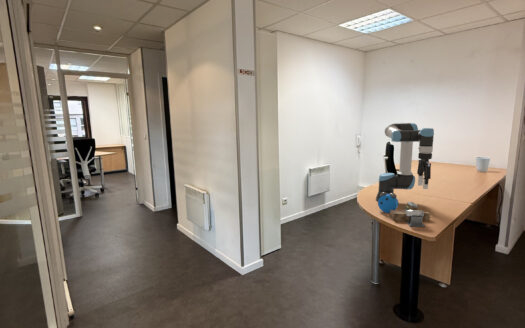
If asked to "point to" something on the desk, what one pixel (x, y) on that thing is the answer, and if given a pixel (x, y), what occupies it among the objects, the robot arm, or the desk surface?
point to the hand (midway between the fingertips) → (422, 187)
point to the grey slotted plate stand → (415, 221)
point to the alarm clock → (387, 202)
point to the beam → (400, 215)
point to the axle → (414, 213)
